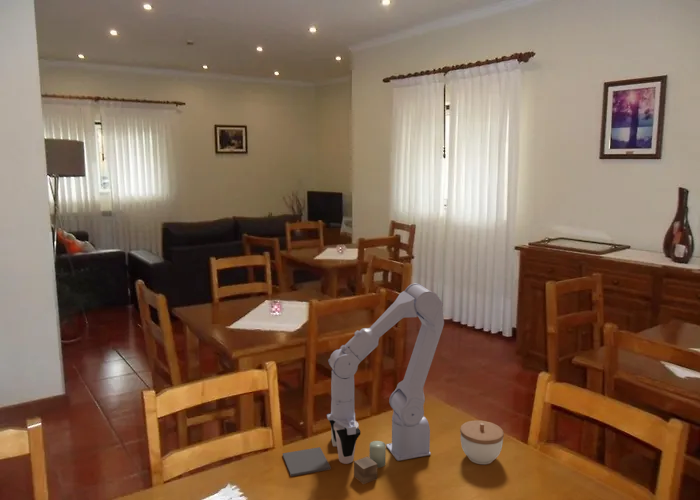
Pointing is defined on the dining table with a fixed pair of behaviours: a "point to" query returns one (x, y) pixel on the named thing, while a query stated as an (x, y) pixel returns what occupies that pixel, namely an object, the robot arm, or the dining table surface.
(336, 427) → the smoothie
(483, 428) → the lidded jar
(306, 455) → the mat
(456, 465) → the dining table surface
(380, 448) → the sage tin
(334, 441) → the grey block
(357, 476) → the walnut block
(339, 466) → the dining table surface
